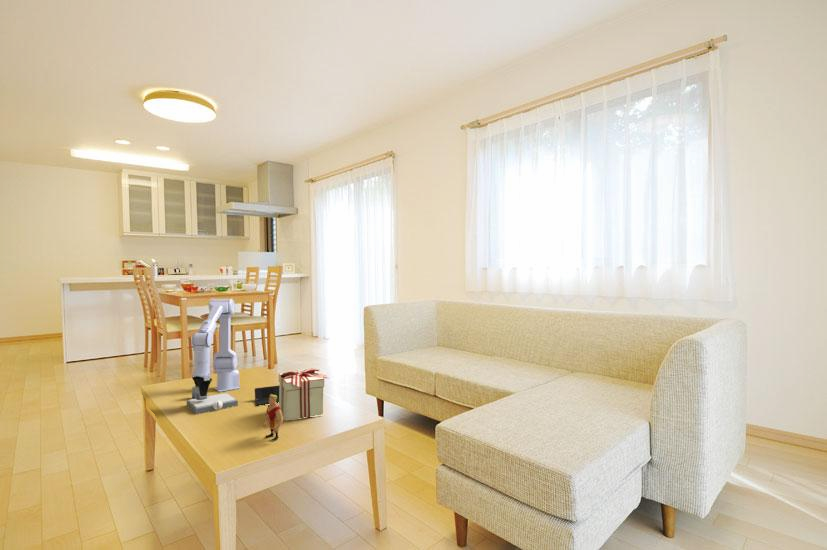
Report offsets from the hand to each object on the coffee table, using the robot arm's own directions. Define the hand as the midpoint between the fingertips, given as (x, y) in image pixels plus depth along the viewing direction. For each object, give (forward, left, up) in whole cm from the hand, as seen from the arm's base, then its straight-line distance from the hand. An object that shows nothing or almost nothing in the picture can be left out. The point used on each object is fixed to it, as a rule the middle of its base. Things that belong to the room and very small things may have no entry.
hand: (201, 394), depth 167 cm
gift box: (-28, +34, -6) cm, 44 cm away
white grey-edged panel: (-4, 0, -5) cm, 7 cm away
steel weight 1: (-2, -15, -5) cm, 16 cm away
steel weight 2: (0, 0, -2) cm, 2 cm away
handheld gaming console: (-24, +10, -6) cm, 27 cm away
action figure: (-9, +49, -6) cm, 50 cm away
